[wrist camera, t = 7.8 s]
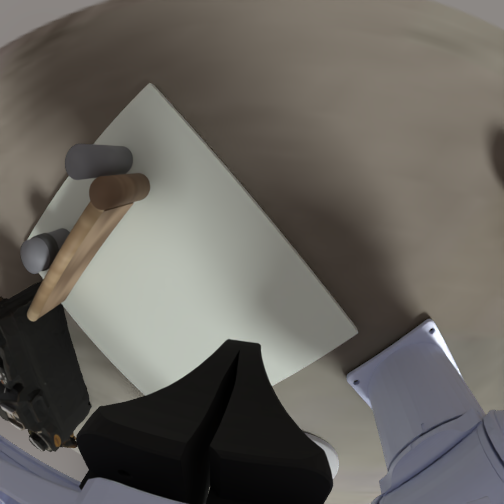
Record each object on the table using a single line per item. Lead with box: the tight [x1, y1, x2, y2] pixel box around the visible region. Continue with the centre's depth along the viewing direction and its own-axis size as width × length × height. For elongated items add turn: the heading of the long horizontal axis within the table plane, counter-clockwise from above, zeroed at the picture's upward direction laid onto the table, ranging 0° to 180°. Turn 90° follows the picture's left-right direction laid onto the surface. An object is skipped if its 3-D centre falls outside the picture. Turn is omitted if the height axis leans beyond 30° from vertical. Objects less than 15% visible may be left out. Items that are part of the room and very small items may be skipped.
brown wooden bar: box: [27, 173, 150, 321], centre depth 18 cm, size 13×2×4 cm, turn 135°
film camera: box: [0, 282, 92, 452], centre depth 21 cm, size 18×12×10 cm
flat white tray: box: [21, 83, 358, 396], centre depth 19 cm, size 22×18×6 cm
